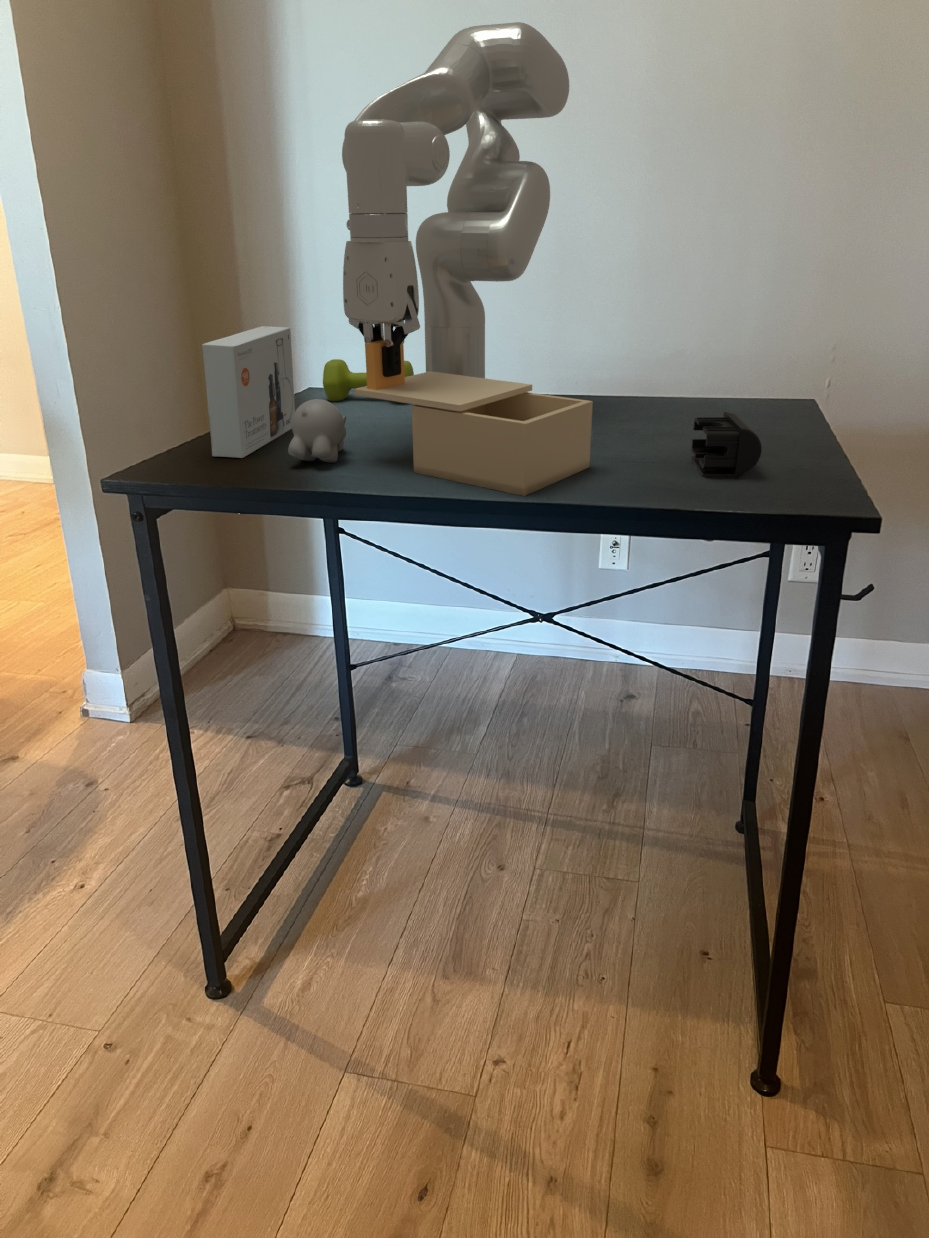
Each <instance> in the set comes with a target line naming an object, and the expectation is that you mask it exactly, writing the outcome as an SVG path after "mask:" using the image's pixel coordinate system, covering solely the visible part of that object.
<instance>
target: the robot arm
mask: <svg viewBox="0 0 929 1238" xmlns="http://www.w3.org/2000/svg"><path fill="white" fill-rule="evenodd" d="M569 77H570V76H569V72H568V67H567V66H566V62H565V61H564V59H563V58H562V56H561V55H560V53H559V52H558V50H556V49H555V48H554V46H553V45H552V44H551V43H550V41H548V39H547V38H546V37H545V36H544V35H543V34H542V33H541V32H540V31H539V30H537V29H536V28H535V27H533V26H531V25H530V24H527V23H525V22H519V21H518V22H517V21H516V22H507V23H493V24H492V23H491V24H483V25H481V24H480V25H473V26H469V27H464V28H462V29H461V30H459V31H458V32H457V33H455V34H454V35H453V36H452V37H451V38H450V39H449V41H448V42H447V44H446V45H445V46H444V47H443V48H442V50H441V51H440V52H439V54H438V55H437V56H436V58H435V59H434V60H433V62H432V63H431V64H429V66H428V68H427V69H426V70H425V71H424V72H422V74H419V75H417V76H415V77H413V78H411V79H409V80H407V81H406V82H404V83H402V84H400V85H398V86H397V87H395V88H393V89H391V90H388V91H387V92H385V93H383V94H381V95H380V96H378V97H376V98H374V100H372V101H371V102H369V103H368V104H367V105H366V106H365V107H364V108H363V109H362V110H361V111H360V112H359V114H358V115H357V116H356V117H355V118H354V120H352V121H350V122H348V124H347V125H346V127H345V129H344V130H345V131H344V139H343V142H342V147H341V148H342V149H341V158H342V159H341V160H342V165H343V168H344V170H345V172H346V185H347V187H346V188H347V190H346V191H347V201H348V219H347V221H346V224H345V225H346V228H347V230H349V236H350V239H349V240H346V243H345V248H344V256H343V267H342V268H343V269H342V270H343V271H342V295H343V299H342V301H343V311H344V315H345V317H346V318H348V323H349V325H351V326H352V327H354V328H356V329H357V330H358V331H359V332H360V333H361V335H362V337H363V341H364V344H365V343H369V342H375V341H380V340H384V342H385V345H386V346H384V347H382V366H383V376H384V377H391V376H395V375H400V374H401V350H400V345H402V344H403V345H404V344H405V339H406V338H407V337H408V335H409V334H412V333H414V332H416V331H418V330H419V329H421V324H420V320H419V317H418V316H419V309H420V296H419V281H418V271H417V264H416V258H415V253H414V248H413V247H414V246H413V244H412V241H411V240H409V223H408V221H409V220H408V219H409V218H408V217H409V216H408V214H409V213H408V189H407V187H425V186H429V185H433V184H435V183H438V181H439V180H441V179H442V178H443V176H444V175H445V174H446V172H447V170H448V167H449V163H450V156H451V155H450V152H451V151H450V145H449V143H448V140H447V138H446V135H448V134H451V133H454V132H457V131H459V130H460V129H462V128H463V127H466V132H467V139H468V140H467V141H468V145H467V149H466V151H465V153H464V155H463V158H462V159H461V162H460V165H459V166H458V169H457V171H456V174H455V175H454V177H453V180H452V182H451V184H450V186H449V189H448V193H447V199H446V207H447V211H446V212H445V211H444V212H439V213H435V214H432V215H430V216H429V217H426V218H425V219H424V220H423V221H421V223H420V225H419V227H418V229H417V231H416V236H415V252H416V257H417V262H418V269H419V272H420V279H421V285H422V286H421V287H422V293H423V294H422V295H423V296H422V297H423V310H424V311H423V315H424V316H423V317H424V351H425V354H424V355H425V357H424V358H425V372H429V371H431V372H439V373H447V374H454V375H462V376H470V377H477V378H485V379H486V312H485V311H486V310H485V305H484V304H483V302H482V299H481V297H480V295H479V293H478V292H477V290H476V289H475V287H474V285H473V284H472V282H512V281H515V280H517V279H519V278H521V276H523V274H524V273H525V271H526V269H527V268H528V266H529V264H530V261H531V259H532V256H533V254H534V251H535V249H536V245H537V243H538V241H539V238H540V236H541V233H542V232H543V228H544V226H545V223H546V220H547V217H548V214H549V209H550V202H551V184H550V180H549V177H548V175H547V172H546V171H545V169H544V168H543V167H542V166H541V165H540V164H538V163H536V162H533V161H528V160H520V158H521V157H520V155H521V154H520V149H519V147H518V145H517V142H516V140H515V139H514V138H513V135H511V133H510V132H509V131H508V130H507V128H506V127H504V125H502V121H504V120H507V121H508V120H509V121H510V120H524V119H525V120H526V119H545V118H546V119H547V118H553V117H554V116H557V115H559V114H560V113H561V112H562V111H563V109H564V108H565V106H566V104H567V102H568V98H569V95H570V94H569V93H570V78H569Z"/></svg>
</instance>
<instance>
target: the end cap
mask: <svg viewBox="0 0 929 1238" xmlns="http://www.w3.org/2000/svg"><path fill="white" fill-rule="evenodd" d="M693 431H702V432H703V433H704V435H706V438H692V439H691V448H690V449H691V453H692V456H691V458H690V461H691V460H692V461H691V463H692V462H693V463H692V464H693V466H694V467H695V466H696V467H695V469H696V468H697V469H696V470H697V471H699V472H700V473H699V472H698V473H699V475H700V474H701V475H700V477H701V478H703V477H705V478H704V479H737V478H740V477H742V476H743V475H745V473H748V471H751V470H752V469H753V468H754V467H755V466H756V465H757V463H758V462H759V460H760V458H761V455H762V441H761V440H760V437H758V435H757V434H756V433H755V431H753V430H752V429H751V428H750V427H749V426H748V425H747V424H746V423H745V422H744V421H743V420H742V419H741V418H740V417H739V416H738V415H736V414H735V413H731V412H728V411H723V417H719V416H717V417H716V416H710V417H709V416H707V417H706V416H704V417H701V416H700V417H699V416H698V417H695V418H694V421H693ZM736 477H737V478H736Z"/></svg>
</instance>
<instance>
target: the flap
mask: <svg viewBox="0 0 929 1238" xmlns="http://www.w3.org/2000/svg"><path fill="white" fill-rule="evenodd" d="M384 346H386V345H385V342H384V340H380V341H375V342H369V343H365V342H364V350H365V351H364V355H365V368H366V369H365V370H366V371H365V373H367V386H364V387H360V388H356V389H353V394H354V396H361V397H365V398H366V397H367V398H372V399H377V400H384V401H391V402H394V401H397V402H403V403H402V404H409V405H422V406H428V407H435V408H441V409H447V410H453V411H464V410H467V409H471V408H474V407H477V406H481V405H484V404H488V403H491V402H494V401H498V400H501V399H505V398H508V397H512V396H515V395H518V394H522V393H525V392H529V393H530V392H532V391H533V384H531V383H530V384H529V383H524V382H517V381H516V382H515V381H506V380H500V379H499V380H498V379H492V378H486V377H485V378H477V377H470V376H462V375H454V374H447V373H439V372H431V371H429V372H426V371H425V372H422V373H417V374H414V375H412V376H408V377H405V373H404V361H405V354H404V353H405V350H404V348H405V347H404V344H402V345H400V350H401V374H400V375H395V376H391V377H384V376H383V366H382V347H384Z"/></svg>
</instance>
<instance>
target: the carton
mask: <svg viewBox="0 0 929 1238" xmlns="http://www.w3.org/2000/svg"><path fill="white" fill-rule="evenodd" d="M593 403H594V401H592V400H588V399H587V400H586V399H580V398H579V399H578V398H571V397H564V396H556V395H549V394H543V393H536V392H530V391H529V392H525V393H522V394H518V395H515V396H512V397H508V398H505V399H501V400H498V401H494V402H491V403H488V404H484V405H481V406H477V407H474V408H471V409H467V410H464V411H453V410H447V409H441V408H435V407H428V406H422V405H416V404H412V405H411V424H412V426H411V427H412V454H413V458H412V459H413V473H415V474H420V475H425V476H428V477H433V478H436V479H437V478H438V479H443V480H448V481H452V482H456V483H462V484H467V485H471V486H476V487H481V488H483V489H484V488H485V489H490V490H493V491H494V490H495V491H499V492H503V493H508V494H513V495H517V496H521V497H522V496H523V497H525V496H527V495H530V494H532V493H535V492H537V491H538V490H541V489H543V488H545V487H549V486H550V485H553V484H555V483H557V482H560V481H562V480H564V479H566V478H568V477H570V476H573V475H575V474H577V473H579V472H582V471H584V470H586V469H588V468H590V462H591V444H592V443H591V442H592V424H593Z"/></svg>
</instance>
